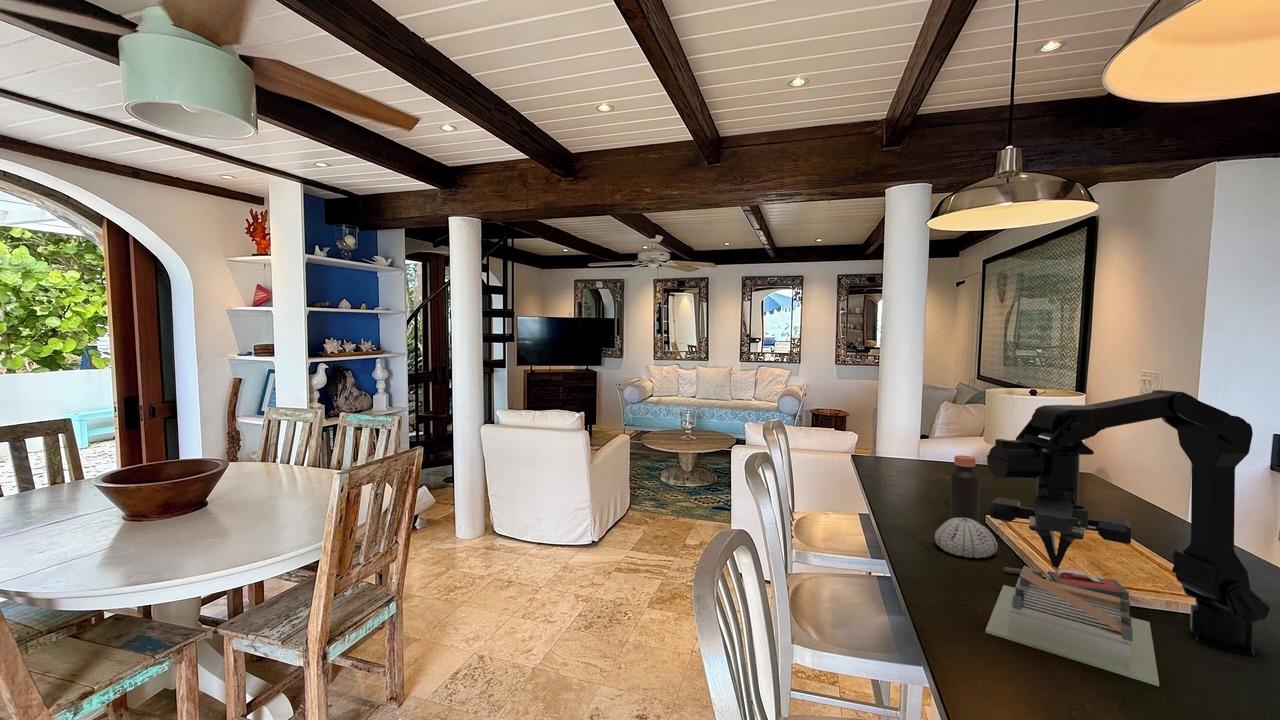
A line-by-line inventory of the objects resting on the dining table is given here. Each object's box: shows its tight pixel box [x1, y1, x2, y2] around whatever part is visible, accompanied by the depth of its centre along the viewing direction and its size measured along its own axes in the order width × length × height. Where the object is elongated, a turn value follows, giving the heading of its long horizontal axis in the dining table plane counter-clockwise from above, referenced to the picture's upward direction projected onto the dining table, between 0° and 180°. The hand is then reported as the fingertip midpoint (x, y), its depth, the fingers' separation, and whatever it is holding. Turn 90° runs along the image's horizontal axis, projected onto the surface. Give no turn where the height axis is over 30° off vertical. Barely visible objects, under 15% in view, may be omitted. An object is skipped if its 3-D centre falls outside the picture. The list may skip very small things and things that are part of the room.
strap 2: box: [1019, 565, 1130, 633], centre depth 88 cm, size 15×3×1 cm, turn 48°
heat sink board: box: [985, 567, 1160, 687], centre depth 93 cm, size 22×22×7 cm
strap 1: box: [1028, 581, 1127, 607], centre depth 97 cm, size 15×3×1 cm, turn 48°
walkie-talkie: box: [1003, 566, 1127, 598], centre depth 108 cm, size 9×4×20 cm
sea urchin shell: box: [934, 518, 999, 559], centre depth 128 cm, size 13×14×8 cm
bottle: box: [949, 454, 980, 524], centre depth 142 cm, size 7×7×20 cm
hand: (1055, 566), depth 90 cm, fingers closed
